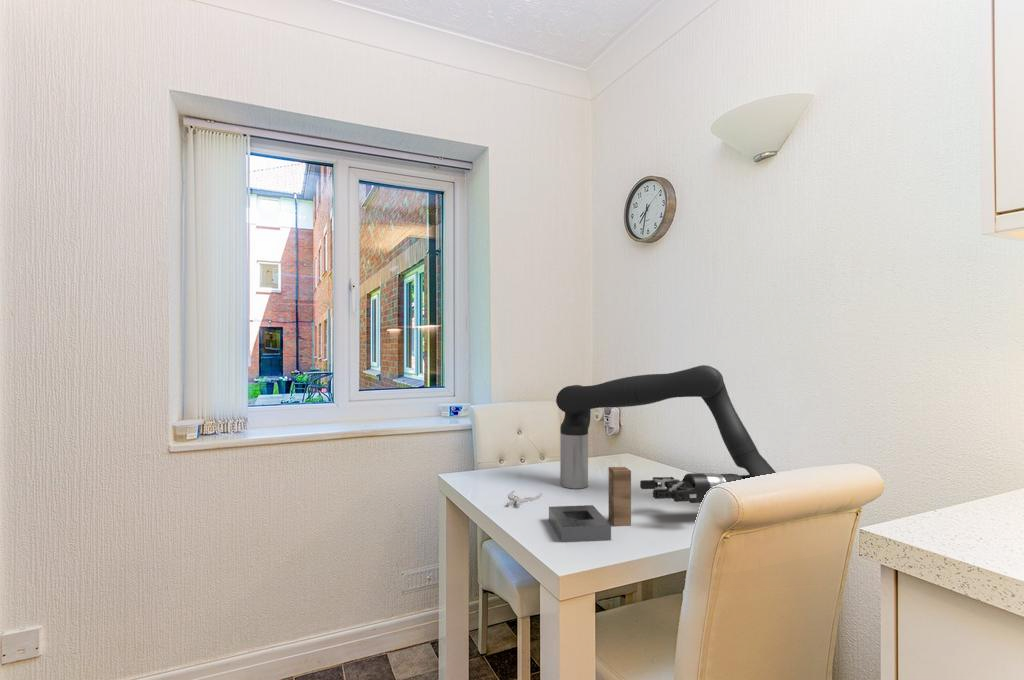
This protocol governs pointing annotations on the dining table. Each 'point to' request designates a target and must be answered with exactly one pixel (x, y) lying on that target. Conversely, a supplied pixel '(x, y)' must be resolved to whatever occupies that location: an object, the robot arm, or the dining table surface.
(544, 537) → the dining table surface
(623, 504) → the walnut peg
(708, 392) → the robot arm
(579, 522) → the socket block
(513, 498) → the pliers
